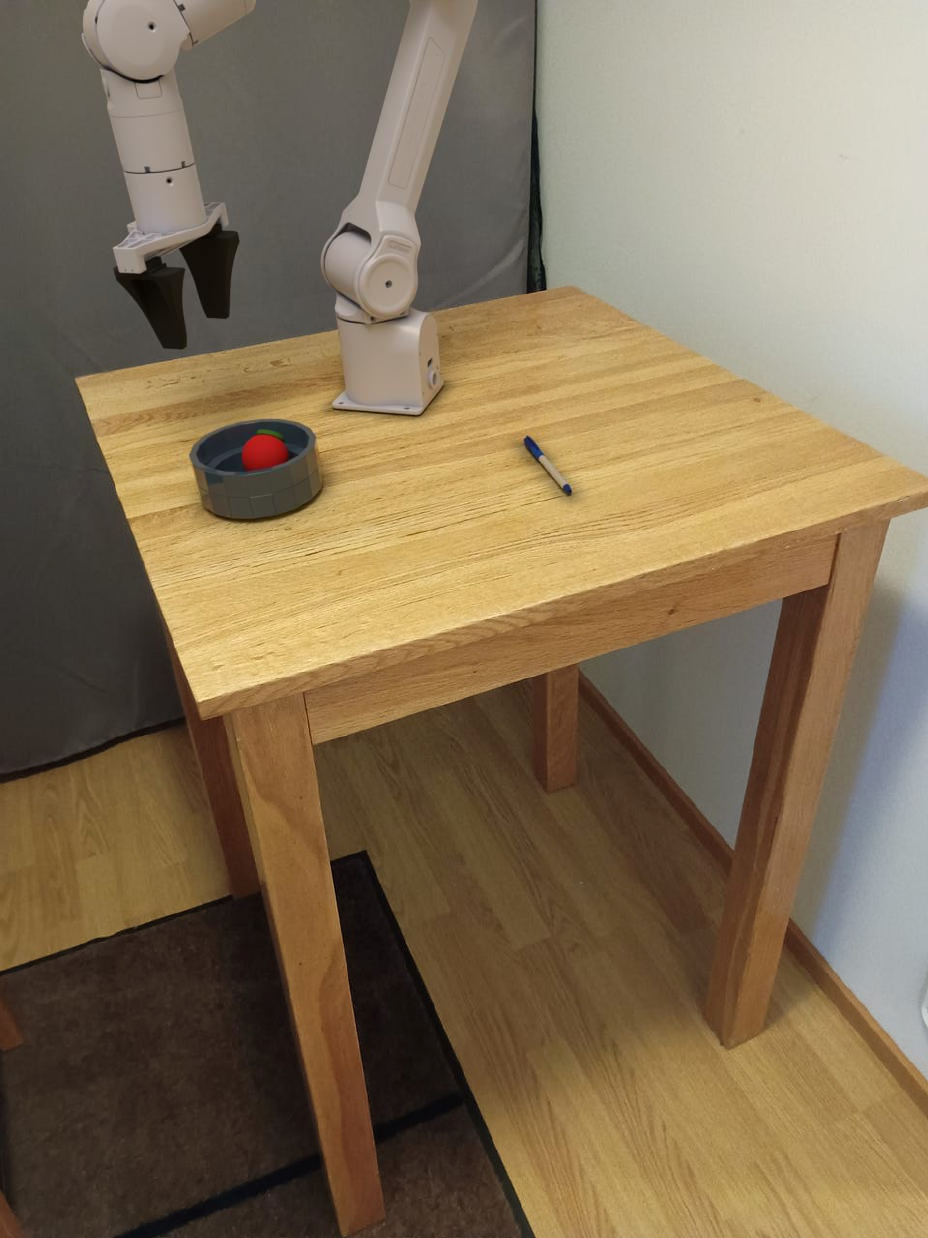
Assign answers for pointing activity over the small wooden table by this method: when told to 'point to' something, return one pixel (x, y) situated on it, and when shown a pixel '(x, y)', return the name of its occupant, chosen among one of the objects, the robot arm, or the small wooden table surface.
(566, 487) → the ballpoint pen
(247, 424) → the dessert bowl
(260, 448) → the tomato
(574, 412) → the small wooden table surface
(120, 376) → the small wooden table surface
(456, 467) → the small wooden table surface
